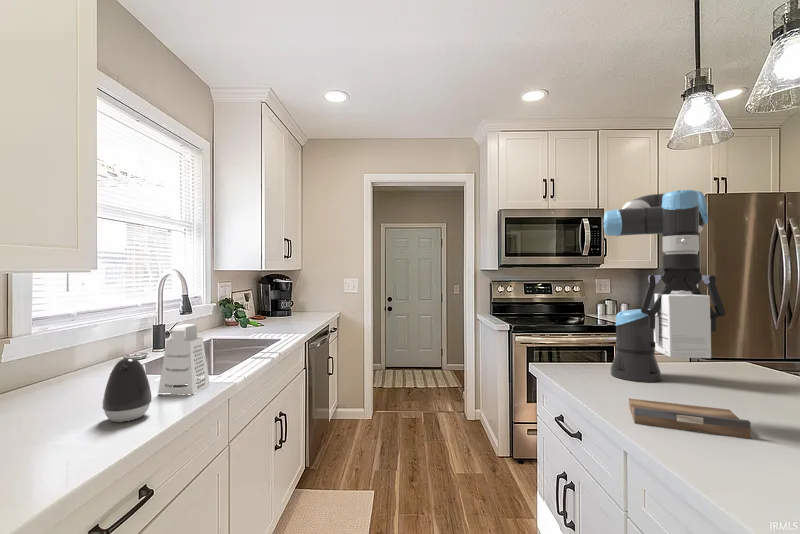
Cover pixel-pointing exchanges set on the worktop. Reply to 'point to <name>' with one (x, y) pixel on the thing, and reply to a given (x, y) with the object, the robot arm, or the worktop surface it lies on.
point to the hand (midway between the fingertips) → (681, 343)
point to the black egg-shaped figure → (127, 391)
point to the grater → (184, 362)
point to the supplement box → (684, 325)
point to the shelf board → (689, 418)
